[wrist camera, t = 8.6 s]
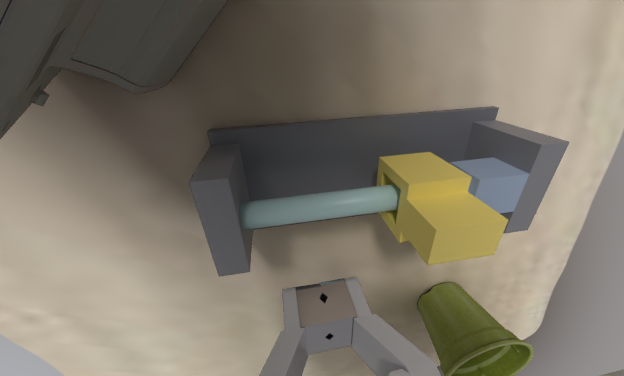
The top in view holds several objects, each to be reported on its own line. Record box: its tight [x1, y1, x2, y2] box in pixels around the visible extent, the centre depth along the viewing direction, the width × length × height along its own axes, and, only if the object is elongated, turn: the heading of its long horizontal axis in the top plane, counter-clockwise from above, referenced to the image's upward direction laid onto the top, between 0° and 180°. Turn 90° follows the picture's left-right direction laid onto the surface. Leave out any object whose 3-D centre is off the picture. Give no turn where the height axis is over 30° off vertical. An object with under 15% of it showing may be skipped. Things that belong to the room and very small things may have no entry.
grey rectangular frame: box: [189, 106, 569, 276], centre depth 19 cm, size 23×9×6 cm, turn 93°
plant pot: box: [418, 283, 534, 376], centre depth 29 cm, size 9×9×9 cm
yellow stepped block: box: [377, 152, 508, 265], centre depth 16 cm, size 4×4×7 cm
